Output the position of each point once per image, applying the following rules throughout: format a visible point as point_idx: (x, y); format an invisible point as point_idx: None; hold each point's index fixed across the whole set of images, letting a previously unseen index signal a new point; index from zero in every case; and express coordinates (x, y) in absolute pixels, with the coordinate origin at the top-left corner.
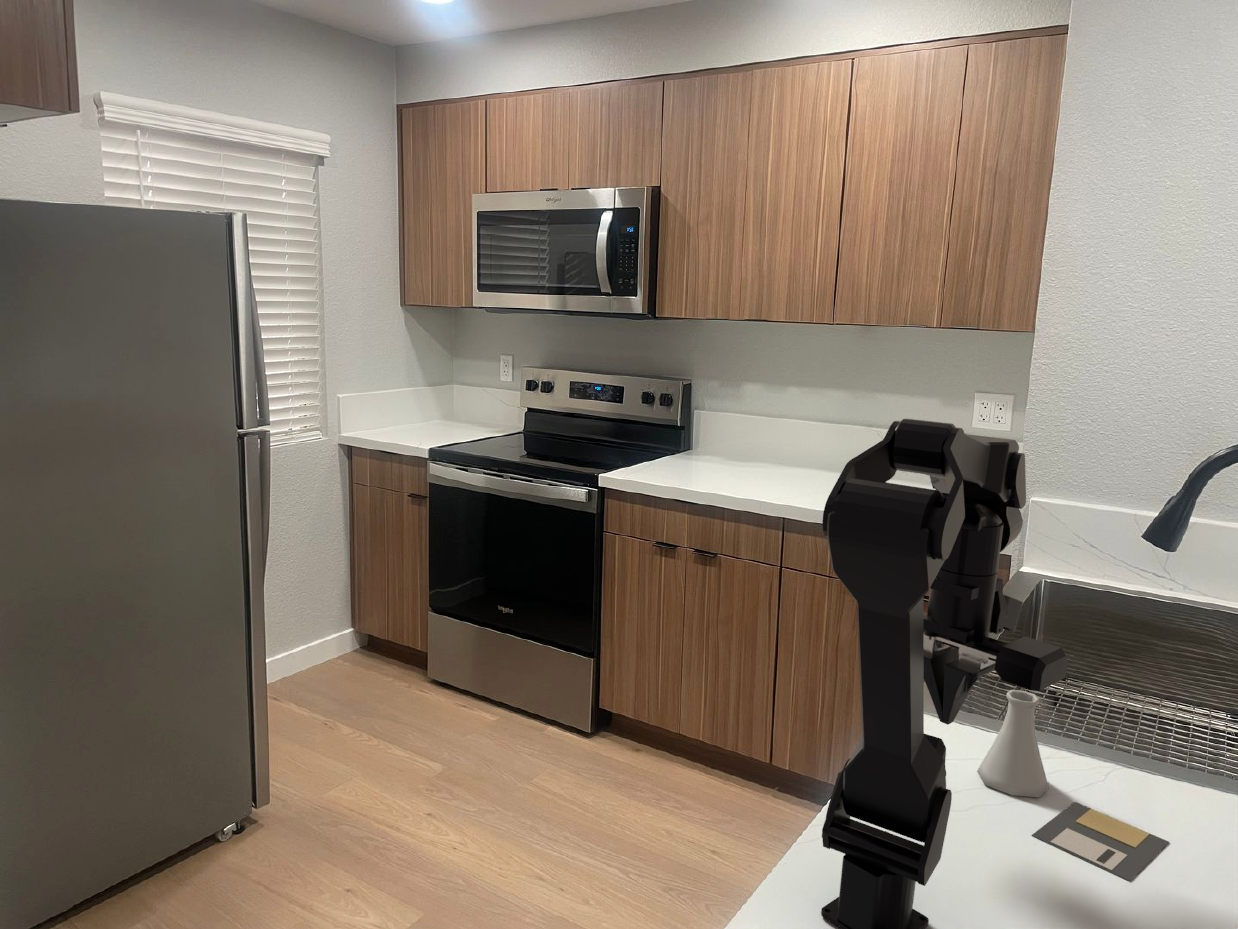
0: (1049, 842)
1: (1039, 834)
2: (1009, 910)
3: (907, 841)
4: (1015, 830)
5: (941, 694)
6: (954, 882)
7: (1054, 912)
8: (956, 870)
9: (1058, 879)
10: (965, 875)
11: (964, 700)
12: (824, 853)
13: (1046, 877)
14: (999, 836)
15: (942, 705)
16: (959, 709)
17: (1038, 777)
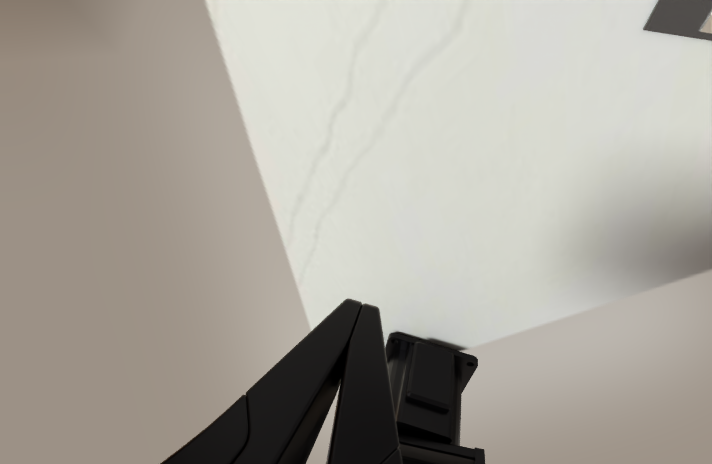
0: (696, 32)
1: (669, 10)
2: (578, 297)
3: (435, 455)
4: (594, 32)
5: (305, 459)
6: (489, 276)
7: (659, 272)
8: (486, 250)
9: (689, 178)
10: (502, 254)
11: (392, 404)
12: (326, 297)
13: (659, 185)
14: (552, 93)
15: (329, 405)
16: (385, 357)
17: None
